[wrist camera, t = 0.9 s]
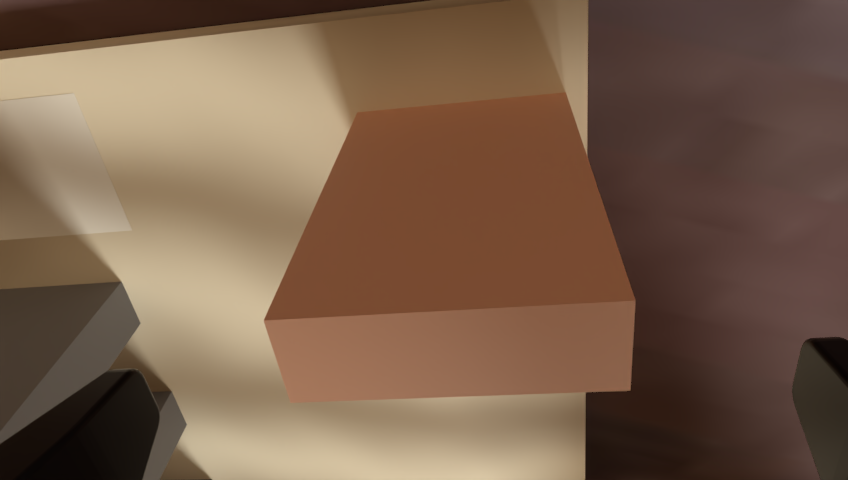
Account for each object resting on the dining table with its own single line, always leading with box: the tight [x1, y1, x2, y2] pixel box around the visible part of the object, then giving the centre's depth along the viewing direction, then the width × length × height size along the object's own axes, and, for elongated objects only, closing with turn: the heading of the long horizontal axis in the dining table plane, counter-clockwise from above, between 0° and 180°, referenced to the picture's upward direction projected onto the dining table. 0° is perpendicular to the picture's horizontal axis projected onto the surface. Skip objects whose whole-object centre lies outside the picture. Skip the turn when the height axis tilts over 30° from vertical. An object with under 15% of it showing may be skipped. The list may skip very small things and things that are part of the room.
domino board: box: [0, 0, 588, 480], centre depth 22 cm, size 24×22×1 cm
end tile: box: [264, 92, 636, 403], centre depth 12 cm, size 2×5×8 cm, turn 97°
